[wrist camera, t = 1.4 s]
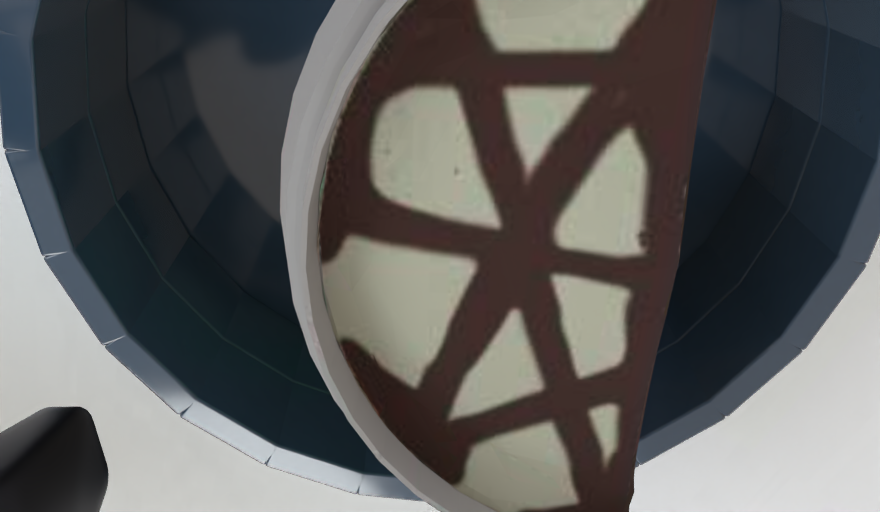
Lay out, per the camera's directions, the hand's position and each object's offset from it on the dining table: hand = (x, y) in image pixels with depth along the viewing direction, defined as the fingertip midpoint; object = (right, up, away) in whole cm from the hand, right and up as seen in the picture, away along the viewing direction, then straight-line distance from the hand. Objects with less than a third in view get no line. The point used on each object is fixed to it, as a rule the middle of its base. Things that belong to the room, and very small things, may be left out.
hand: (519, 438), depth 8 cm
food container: (0, +6, +12) cm, 14 cm away
